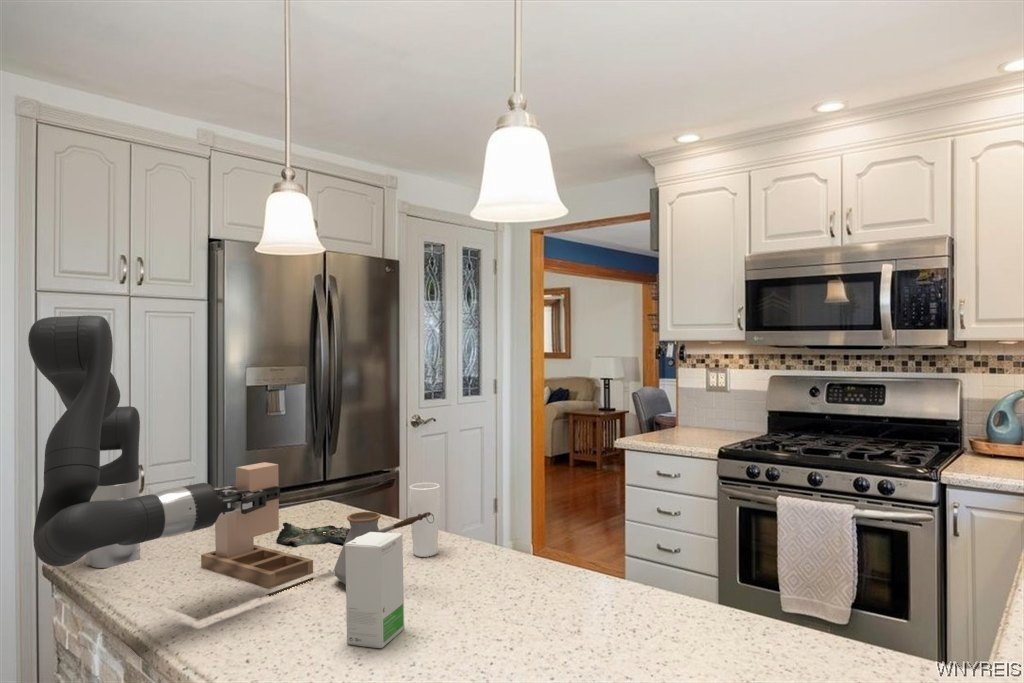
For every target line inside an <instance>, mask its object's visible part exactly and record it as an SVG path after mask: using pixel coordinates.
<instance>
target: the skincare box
mask: <svg viewBox="0 0 1024 683" xmlns="http://www.w3.org/2000/svg"><path fill="white" fill-rule="evenodd" d="M403 544H404V543H403V533H399V532H385V533H381V532H369V533H366V534H364V535H362V536H359V537H356V538H355V539H354V540H352V541H350V542H348V543H346V544H345V559H346V586H345V605H346V606H345V607H346V608H345V612H346V613H345V614H346V615H345V616H346V644H347V645H351V646H358V647H366V648H374V649H382V648H384V647H385V646H386V645H387V644H388V643H390V642H391V641H392V640H393V639H394V638H395V637H397V635H399V633H401V632H402V631H403V630H404V629H405V600H404V599H405V598H404V596H405V595H404V594H405V592H404V553H403V552H404V550H403V548H404V547H403Z"/></svg>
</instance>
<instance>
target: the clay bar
mask: <svg viewBox="0 0 1024 683" xmlns="http://www.w3.org/2000/svg"><path fill="white" fill-rule="evenodd" d="M274 486H278V487H280V486H279V464H278V463H273V462H265V461H264V462H259V463H254V464H252V463H251V464H248V465H242V466H237V467H235V487H236V488H237V490H240V489H248V490H250V491H253V490H258V489H265V488H270V487H274ZM243 497H244V494H242V498H243ZM279 501H280V497H279V498H278V499H274V500H270V501H266V506H265V507H262V508H260V509H257V510H254V511H252V512H249V513H247V514H241V511H236V534H237V535H240V536H244V537H248V538H252V537H253V538H255V537H258V536H261V535H266V534H269V533H272V532H277V531H279V530H280V525H279V524H280V522H279V521H280V518H279V517H280V514H279V513H280V512H279V510H280V509H279V508H280V503H279Z"/></svg>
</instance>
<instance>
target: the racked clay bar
mask: <svg viewBox="0 0 1024 683" xmlns="http://www.w3.org/2000/svg"><path fill="white" fill-rule="evenodd" d="M214 525H215V526H214V527H215V528H214V529H215V530H214V532H215V534H214V535H215V536H214V538H215V541H214V542H215V551H216V556H218V557H222V558H225V559H227V558H231V557H234V556H237V555H241V554H244V553H247V552H250V551H254V545H255V544H254V538H255V537H252V538H248V537H244V536H240V535H237V534H236V511H235V512H234V513H232V514H226V515H223V514H222V513H220V515H219V516H218V518H217V521H216V522H215V523H214Z"/></svg>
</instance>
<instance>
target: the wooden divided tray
mask: <svg viewBox="0 0 1024 683" xmlns="http://www.w3.org/2000/svg"><path fill="white" fill-rule="evenodd" d="M200 562H201V563H200V566H201V567H200V568H202V569H205V570H209V571H211V572H215V573H218V574H221V575H224V576H228V577H231V578H234V579H238V580H240V581H244V582H247V583H250V584H254V585H257V586H260V587H263V588H267V589H272V588H274V587H278V586H280V585H283V584H286V583H290V582H292V581H294V580H297V579H300V578H303V577H306V576H308V575H311V574H313V573H314V560H313V559H311V558H307V557H303V556H299V555H296V554H291V553H288V552H284V551H280V550H275V549H272V548H269V547H268V548H267V547H265V546H260V545H257V544H254V551H250V552H247V553H244V554H241V555H237V556H234V557H231V558H227V559H225V558H222V557H218V556H216V550H214V551H210V552H206V553H203V554H200ZM311 580H312V581H314V577H310V578H307V579H304V580H301V581H299V582H297V583H294V584H290V585H288V586H284V587H283V588H279V589H277V590H274V591H272V592H270V593H266V594H265V596H267V595H269V596H268V597H272V596H275V595H278V594H280V593H283V592H285V591H284V590H286V591H288V590H290V588H291V589H293V588H292V587H294V588H296V587H299V586H301V585H300V584H302V585H304V584H306V582H307V583H309V582H308V581H310V582H312V581H311ZM303 583H304V584H303ZM298 585H299V586H298ZM295 586H296V587H295ZM287 589H288V590H287ZM282 591H283V592H282ZM279 592H280V593H279ZM277 593H278V594H277ZM274 594H275V595H274ZM271 595H272V596H271Z"/></svg>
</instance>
